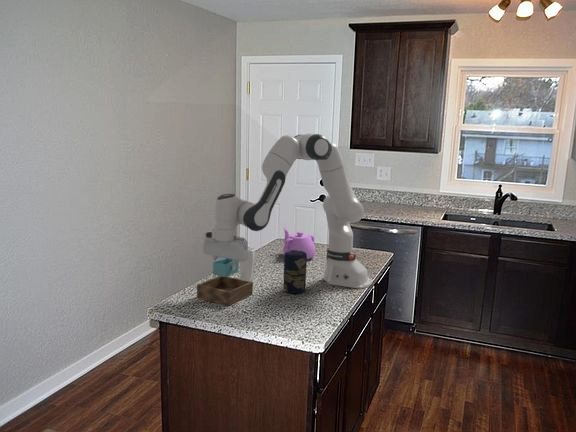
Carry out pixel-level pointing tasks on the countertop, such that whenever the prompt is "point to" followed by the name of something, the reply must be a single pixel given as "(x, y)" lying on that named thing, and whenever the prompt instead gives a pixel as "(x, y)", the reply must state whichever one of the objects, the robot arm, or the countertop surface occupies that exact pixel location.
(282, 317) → the countertop surface
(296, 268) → the canister
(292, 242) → the teapot
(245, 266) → the white cup
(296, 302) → the countertop surface
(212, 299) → the walnut crate
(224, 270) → the teal crate
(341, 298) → the countertop surface
